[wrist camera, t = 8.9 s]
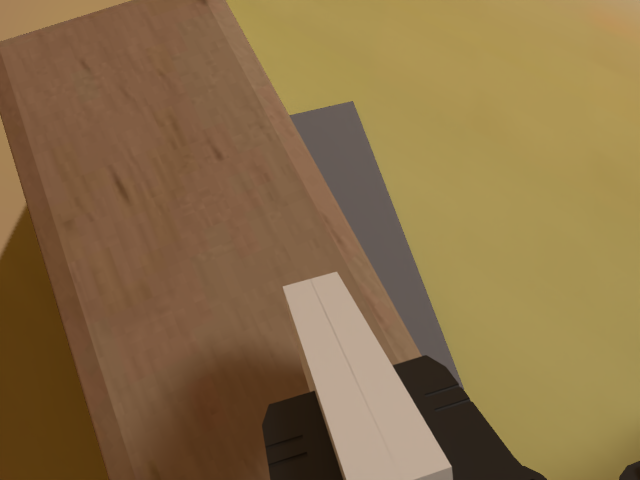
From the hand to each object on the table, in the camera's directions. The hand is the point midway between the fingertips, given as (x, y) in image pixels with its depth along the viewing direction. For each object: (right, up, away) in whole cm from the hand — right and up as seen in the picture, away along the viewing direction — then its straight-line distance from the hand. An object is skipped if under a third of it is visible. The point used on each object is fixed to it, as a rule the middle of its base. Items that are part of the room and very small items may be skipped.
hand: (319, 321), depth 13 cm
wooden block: (0, -7, +4) cm, 8 cm away
